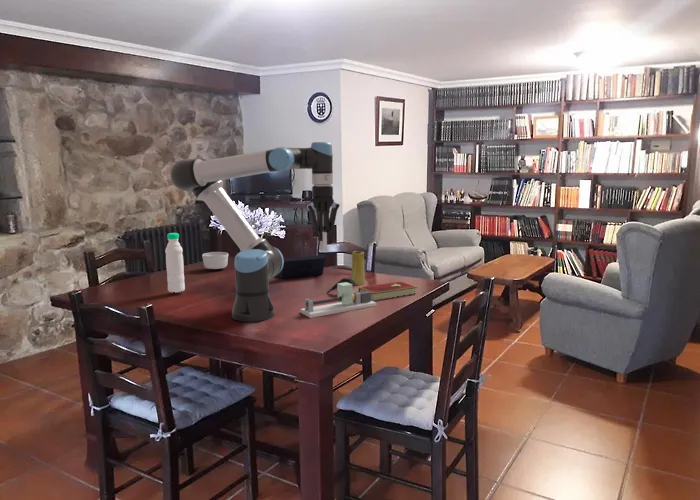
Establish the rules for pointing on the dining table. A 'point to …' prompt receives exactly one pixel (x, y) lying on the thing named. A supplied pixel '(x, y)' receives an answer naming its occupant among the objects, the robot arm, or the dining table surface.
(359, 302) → the linear slide rail
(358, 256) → the vase
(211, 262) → the ramekin
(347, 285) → the pale green block
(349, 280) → the power plug
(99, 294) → the dining table surface
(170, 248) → the water bottle
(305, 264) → the storage box
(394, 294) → the hardcover book
